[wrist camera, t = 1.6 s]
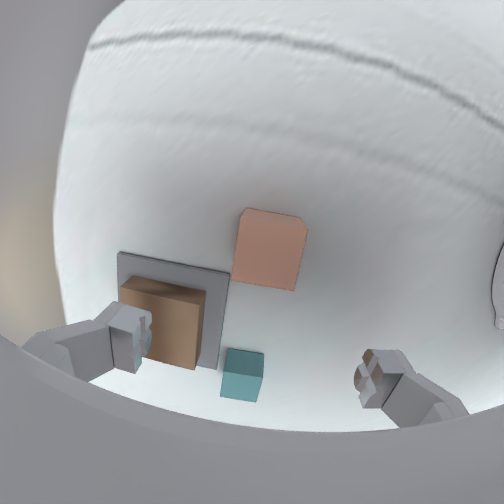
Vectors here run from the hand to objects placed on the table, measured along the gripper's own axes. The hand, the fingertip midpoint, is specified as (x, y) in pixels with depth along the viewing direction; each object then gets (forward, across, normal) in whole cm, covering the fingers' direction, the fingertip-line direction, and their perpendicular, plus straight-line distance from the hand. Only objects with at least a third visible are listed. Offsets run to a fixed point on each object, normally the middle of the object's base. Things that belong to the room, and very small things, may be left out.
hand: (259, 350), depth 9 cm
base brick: (+16, +8, +10) cm, 21 cm away
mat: (+17, +8, +10) cm, 21 cm away
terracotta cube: (+17, -1, 0) cm, 17 cm away
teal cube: (+17, -1, +15) cm, 23 cm away
